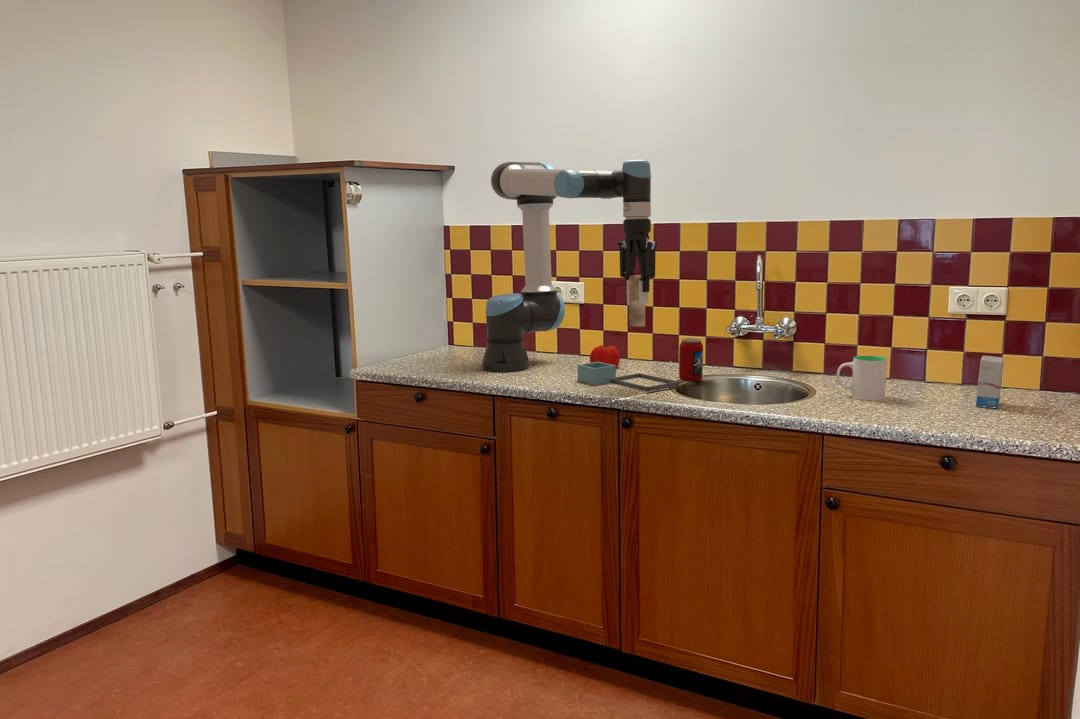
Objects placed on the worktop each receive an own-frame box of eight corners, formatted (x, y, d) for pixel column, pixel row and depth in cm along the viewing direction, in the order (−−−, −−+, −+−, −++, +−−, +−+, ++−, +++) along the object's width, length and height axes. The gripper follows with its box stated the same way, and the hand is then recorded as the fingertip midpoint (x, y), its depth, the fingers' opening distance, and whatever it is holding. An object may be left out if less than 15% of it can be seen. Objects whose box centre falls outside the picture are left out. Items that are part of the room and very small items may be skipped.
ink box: (998, 409, 195) (1002, 361, 193) (975, 407, 198) (979, 359, 196) (1000, 402, 202) (1004, 356, 200) (977, 400, 205) (981, 354, 203)
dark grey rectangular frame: (608, 384, 230) (608, 378, 230) (639, 379, 237) (639, 373, 237) (647, 394, 218) (647, 387, 217) (678, 387, 225) (679, 381, 224)
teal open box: (577, 383, 233) (577, 364, 232) (598, 380, 237) (598, 361, 236) (595, 387, 226) (594, 368, 225) (615, 384, 231) (615, 365, 230)
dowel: (626, 326, 225) (625, 275, 223) (638, 324, 228) (637, 275, 225) (636, 327, 221) (636, 276, 219) (648, 326, 224) (648, 275, 222)
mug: (835, 398, 209) (837, 359, 207) (835, 392, 217) (837, 354, 215) (885, 401, 205) (887, 361, 203) (884, 395, 212) (886, 356, 211)
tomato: (617, 366, 257) (617, 343, 256) (621, 372, 249) (621, 348, 247) (588, 367, 257) (588, 344, 256) (591, 372, 248) (590, 348, 247)
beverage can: (702, 383, 231) (703, 341, 228) (678, 382, 232) (679, 341, 230) (702, 378, 237) (703, 338, 235) (679, 378, 238) (679, 338, 236)
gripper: (605, 219, 225) (606, 302, 228) (648, 217, 211) (649, 306, 214) (626, 218, 229) (626, 300, 233) (669, 217, 215) (669, 304, 219)
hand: (637, 303), depth 223 cm, fingers closed on dowel, 4 cm apart
